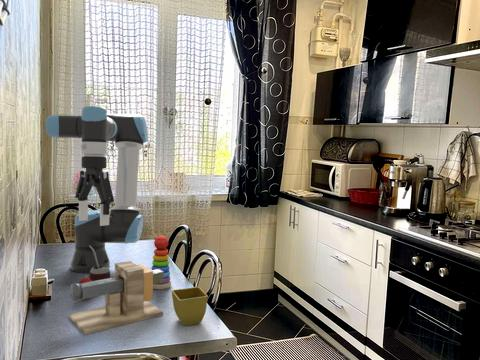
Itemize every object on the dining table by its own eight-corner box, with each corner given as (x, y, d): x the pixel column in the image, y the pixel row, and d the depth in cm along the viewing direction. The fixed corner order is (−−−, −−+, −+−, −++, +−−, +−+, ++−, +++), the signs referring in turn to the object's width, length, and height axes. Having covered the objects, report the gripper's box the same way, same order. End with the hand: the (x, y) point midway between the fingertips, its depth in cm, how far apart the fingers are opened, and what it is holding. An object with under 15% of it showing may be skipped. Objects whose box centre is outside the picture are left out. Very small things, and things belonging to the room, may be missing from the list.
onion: (77, 303, 145) (77, 279, 145) (75, 297, 150) (75, 274, 150) (96, 300, 148) (96, 277, 147) (93, 294, 153) (93, 272, 152)
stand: (69, 317, 134) (68, 269, 133) (143, 300, 149) (143, 256, 147) (85, 334, 123) (84, 282, 122) (162, 314, 138) (163, 267, 136)
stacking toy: (166, 291, 158) (166, 239, 156) (145, 289, 160) (145, 238, 158) (174, 284, 166) (174, 234, 164) (154, 282, 167) (154, 233, 165)
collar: (131, 292, 143) (131, 265, 142) (140, 291, 145) (140, 264, 144) (143, 301, 136) (143, 273, 135) (152, 299, 138) (152, 271, 137)
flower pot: (178, 330, 128) (179, 300, 127) (170, 318, 136) (171, 289, 135) (207, 325, 131) (208, 296, 130) (198, 314, 139) (198, 286, 138)
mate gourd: (108, 292, 156) (108, 250, 154) (85, 292, 155) (84, 250, 153) (111, 284, 163) (111, 244, 162) (89, 285, 162) (89, 245, 161)
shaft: (70, 298, 129) (69, 282, 129) (157, 280, 146) (157, 266, 146) (75, 304, 125) (75, 287, 125) (164, 285, 143) (164, 270, 142)
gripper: (64, 155, 146) (64, 219, 147) (103, 155, 129) (102, 228, 130) (86, 155, 152) (85, 217, 153) (126, 156, 135) (125, 226, 135)
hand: (93, 223), depth 141 cm, fingers open, 13 cm apart
